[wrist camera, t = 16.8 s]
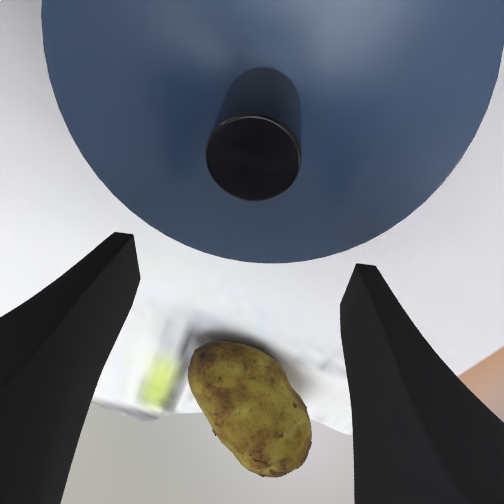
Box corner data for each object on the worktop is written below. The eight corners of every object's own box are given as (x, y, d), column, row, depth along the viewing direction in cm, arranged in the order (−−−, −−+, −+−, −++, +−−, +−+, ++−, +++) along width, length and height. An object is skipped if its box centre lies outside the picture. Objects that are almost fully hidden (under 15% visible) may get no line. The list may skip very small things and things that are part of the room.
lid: (-18, 58, 12) (-136, 110, 9) (336, -505, 6) (387, -1056, 3) (241, 286, 19) (230, 366, 16) (546, 133, 12) (639, 213, 9)
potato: (277, 317, 29) (272, 419, 23) (318, 395, 37) (322, 487, 31) (184, 332, 31) (159, 428, 26) (241, 403, 39) (231, 489, 33)
